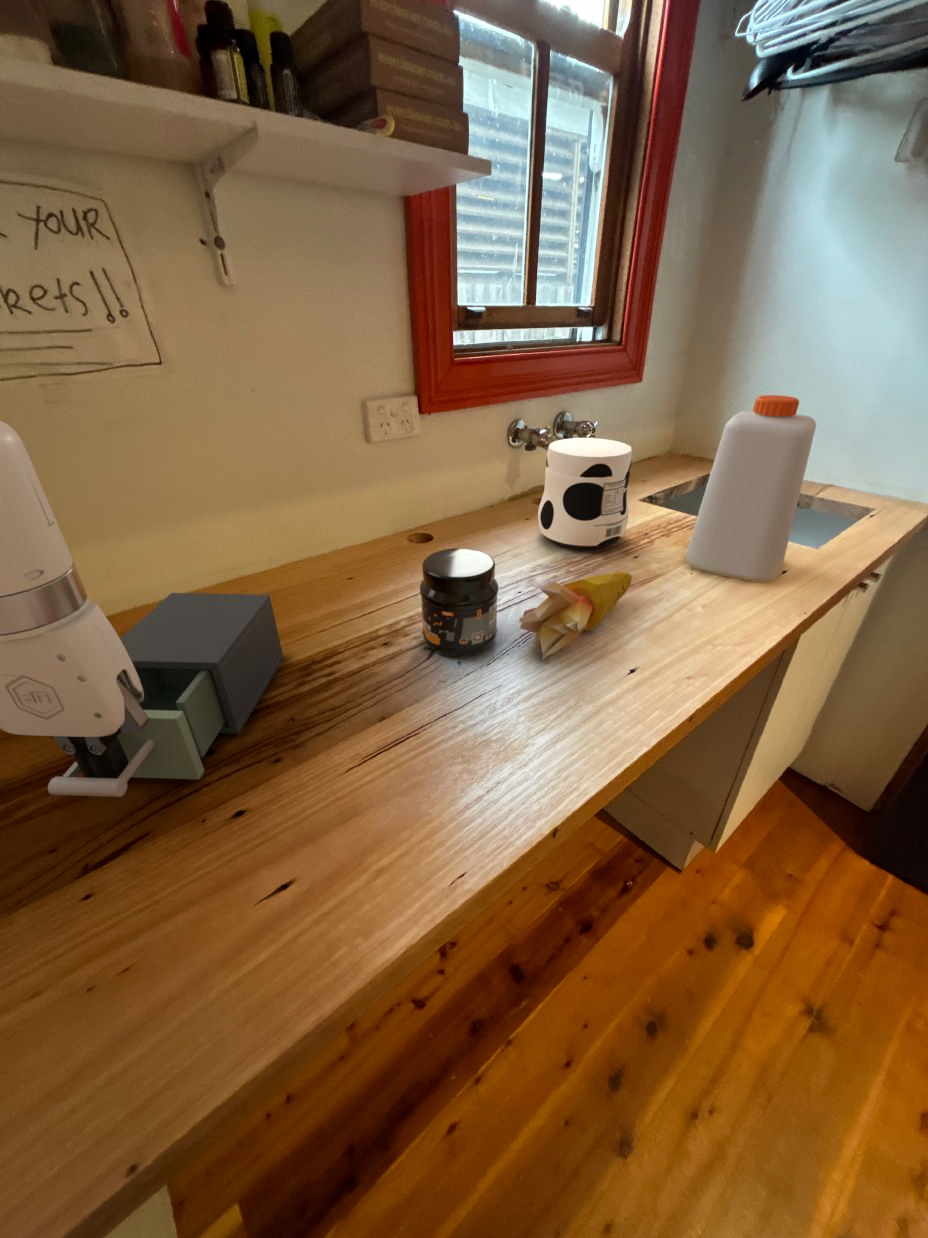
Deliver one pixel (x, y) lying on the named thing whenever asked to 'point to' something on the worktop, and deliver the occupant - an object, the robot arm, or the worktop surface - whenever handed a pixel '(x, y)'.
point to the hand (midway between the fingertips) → (110, 775)
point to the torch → (573, 609)
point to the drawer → (161, 733)
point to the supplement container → (459, 601)
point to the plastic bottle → (753, 492)
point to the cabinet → (213, 645)
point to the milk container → (585, 492)
